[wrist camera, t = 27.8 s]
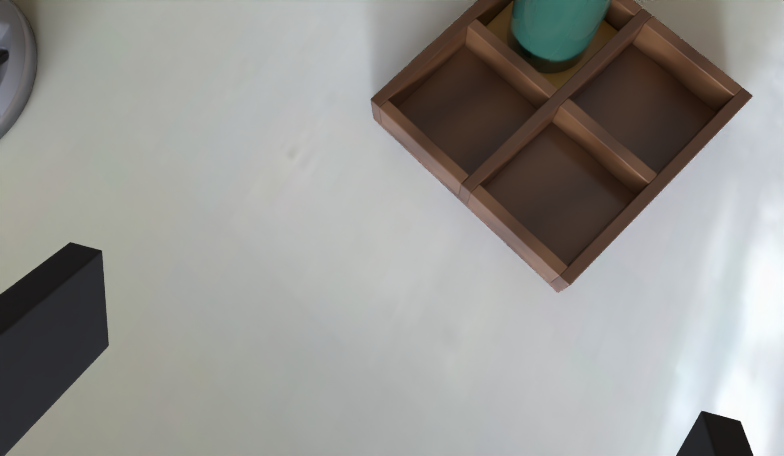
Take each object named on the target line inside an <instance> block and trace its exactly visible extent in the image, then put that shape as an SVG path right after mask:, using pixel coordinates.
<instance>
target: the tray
mask: <svg viewBox="0 0 784 456" xmlns="http://www.w3.org/2000/svg"><path fill="white" fill-rule="evenodd" d="M513 2H514V0H478V1H477V2H476V3H475V4H474V5H472V6H471V7H470V8H469V9H468V10H467V11H466V12H465V13H464V14H463V15H462V16H460V17H459V18H458V19H457V20H456V21H455V22H454V23H453V24H452V25H451V26H450V27H449V28H447V29H446V30H445V31H444V32H443V33H442V34H441V35H440V36H439V37H438V38H437V39H435V40H434V41H433V42H432V43H431V44H430V45H429V46H428V47H427V48H426V49H425V50H423V51H422V52H421V53H420V54H419V55H418V56H417V57H416V58H415V59H414V60H413V61H412V62H410V63H409V64H408V65H407V66H406V67H405V68H404V69H403V70H402V71H401V72H400V73H398V74H397V75H396V76H395V77H394V78H393V79H392V80H391V81H390V82H389V83H388V84H387V85H385V86H384V87H383V88H382V89H381V90H380V91H379V92H378V93H377V94H376V95H375V96H373V97H372V98H371V105H372V111H373V116H374V119H375V120H376V121H377V122H378V123H379V124H380V125H381V126H382V127H383V128H384V129H385V130H386V131H387V132H388V133H389V134H390V135H391V136H393V137H394V138H395V139H396V140H397V141H398V142H399V143H400V144H401V145H402V146H403V147H404V148H405V149H406V150H407V151H408V152H409V153H411V154H412V155H413V156H414V157H415V158H416V159H417V160H418V161H419V162H420V163H421V164H422V165H423V166H424V167H425V168H426V169H428V170H429V171H430V172H431V173H432V174H433V175H434V176H435V177H436V178H437V179H438V180H439V181H440V182H441V183H442V184H443V185H444V186H446V187H447V188H448V189H449V190H450V191H451V192H452V193H453V194H454V195H455V196H456V197H457V198H458V199H459V200H460V201H461V202H463V203H464V204H465V205H466V206H467V207H468V208H469V209H470V210H471V211H472V212H473V213H474V214H475V215H476V216H477V217H478V218H479V219H481V220H482V221H483V222H484V223H485V224H486V225H487V226H488V227H489V228H490V229H491V230H492V231H493V232H494V233H495V234H496V235H497V236H499V237H500V238H501V239H502V240H503V241H504V242H505V243H506V244H507V245H508V246H509V247H510V248H511V249H512V250H513V251H514V252H516V253H517V254H518V255H519V256H520V257H521V258H522V259H523V260H524V261H525V262H526V263H527V264H528V265H529V266H530V267H531V268H532V269H534V270H535V271H536V272H537V273H538V274H539V275H540V276H541V277H542V278H543V279H544V280H545V281H546V282H547V283H548V284H549V285H551V286H552V287H553V288H554V289H555V290H556V291H557V292H558V293H559V292H560V291H562V290H563V289H565V288H567V287H568V286H570V285H571V284H572V283H573V282H574V281H575V280H576V279H577V278H578V277H579V276H580V274H581V273H582V272H583V271H584V270H585V269H586V268H587V267H588V266H589V265H590V264H591V263H592V262H593V261H594V260H595V259H596V258H597V257H598V256H599V255H600V254H601V253H602V252H603V251H604V250H605V249H606V248H607V247H608V246H609V244H610V243H611V242H612V241H613V240H614V239H615V238H616V237H617V236H618V235H619V234H620V233H621V232H622V231H623V230H624V229H625V228H626V227H627V226H628V225H629V224H630V223H631V222H632V221H633V220H634V219H635V218H636V217H637V216H638V215H639V213H640V212H641V211H642V210H643V209H644V208H645V207H646V206H647V205H648V204H649V203H650V202H651V201H652V200H653V199H654V198H655V197H656V196H657V195H658V194H659V193H660V192H661V191H662V190H663V189H664V188H665V187H666V186H667V185H668V184H669V182H670V181H671V180H672V179H673V178H674V177H675V176H676V175H677V174H678V173H679V172H680V171H681V170H682V169H683V168H684V167H685V166H686V165H687V164H688V163H689V162H690V161H691V160H692V159H693V158H694V157H695V156H696V155H697V154H698V152H699V151H700V150H701V149H702V148H703V147H704V146H705V145H706V144H707V143H708V142H709V141H710V140H711V139H712V138H713V137H714V136H715V135H716V134H717V133H718V132H719V131H720V130H721V129H722V128H723V127H724V126H725V125H726V124H727V123H728V121H729V120H730V119H731V118H732V117H733V116H734V115H735V114H736V113H737V112H738V111H739V110H740V109H741V108H742V107H743V106H744V105H745V104H746V103H747V102H748V101H749V100H750V99H751V98H752V95H751V94H750V93H749V92H747V91H746V90H745V89H744V88H742V87H741V86H740V85H739V84H738V83H736V82H735V81H734V80H733V79H731V78H730V77H729V76H728V75H726V74H725V73H724V72H722V71H721V70H720V69H719V68H717V67H716V66H715V65H714V64H712V63H711V62H710V61H709V60H707V59H706V58H705V57H704V56H702V55H701V54H700V53H699V52H697V51H696V50H695V49H694V48H692V47H691V46H690V45H689V44H687V43H686V42H685V41H684V40H682V39H681V38H680V37H679V36H677V35H676V34H675V33H674V32H672V31H671V30H670V29H669V28H667V27H666V26H665V25H664V24H662V23H661V22H660V21H659V20H657V19H656V18H655V17H654V16H652V17H651V14H649V13H648V12H647V11H646V10H644V9H642V7H641V6H640V5H639V4H637V3H636V2H635V1H634V0H613V2H612V4H611V6H610V8H609V10H608V12H607V14H606V16H605V17H604V19H603V21H602V23H601V25H600V27H599V29H598V31H597V33H596V35H595V37H594V39H593V41H592V43H591V45H590V47H589V49H588V51H587V53H586V55H585V56H584V58H583V59H582V60H581V61H580V62H579V63H578V64H577V65H575V66H574V67H572V68H570V69H568V70H566V71H563V72H559V73H550V74H549V73H540V72H538V71H537V70H535V69H534V68H533V67H532V66H531V65H530V64H528V63H527V62H526V61H525V60H524V59H523V58H521V57H520V56H519V55H518V54H517V53H516V52H514V51H513V50H512V49H511V48H510V47H509V46H508V43H507V36H506V35H507V27H508V23H509V18H510V14H511V10H512V6H513Z"/></svg>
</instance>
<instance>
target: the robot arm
mask: <svg viewBox="0 0 784 456" xmlns="http://www.w3.org/2000/svg"><path fill="white" fill-rule="evenodd" d="M36 66H37V52H36V44H35V39H34V35H33V32H32V30H31V27H30V25H29V23H28V21H27V19H26V17H25V16H24V14H23V13H22V11H21V10H20V9H19V8H18V7H17V5H16V4H15V3H14V2H12V1H11V0H0V139H1V138H2V137H3V136H4V134H5V133H6V132H7V131H8V130H9V129H10V128H11V126H12V125H13V124H14V123H15V121H16V120H17V118H18V117H19V115H20V114H21V112H22V110H23V108H24V106H25V105H26V103H27V100H28V98H29V96H30V93H31V90H32V87H33V84H34V79H35V75H36ZM108 346H109V342H108V328H107V314H106V300H105V286H104V272H103V258H102V251H101V250H97V249H94V248H90V247H86V246H82V245H79V244H75V243H71V242H70V243H69V244H67V245H66V246H65V247H63V248H62V249H61V250H59V251H58V252H57V253H55V254H54V255H53V256H51V257H50V258H49V259H47V260H46V261H45V262H43V263H42V264H41V265H39V266H38V267H37V268H35V269H34V270H32V271H31V272H30V273H28V274H27V275H26V276H24V277H23V278H22V279H20V280H19V281H18V282H16V283H15V284H14V285H12V286H11V287H10V288H8V289H7V290H6V291H4V292H3V293H2V294H0V456H5V455H6V453H7V452H8V451H9V450H10V449H11V448H12V447H13V446H14V445H15V444H16V443H17V442H18V441H19V440H20V439H21V438H22V437H23V436H24V435H25V433H26V432H27V431H28V430H29V429H30V428H31V427H32V426H33V425H34V424H35V423H36V422H37V421H38V420H39V419H40V418H41V417H42V416H43V414H44V413H45V412H46V411H47V410H48V409H49V408H50V407H51V406H52V405H53V404H54V403H55V402H56V401H57V400H58V399H59V398H60V397H61V395H62V394H63V393H64V392H65V391H66V390H67V389H68V388H69V387H70V386H71V385H72V384H73V383H74V382H75V381H76V380H77V379H78V378H79V376H80V375H81V374H82V373H83V372H84V371H85V370H86V369H87V368H88V367H89V366H90V365H91V364H92V363H93V362H94V361H95V360H96V359H97V358H98V356H99V355H100V354H101V353H102V352H103V351H104V350H105V349H106V348H107V347H108ZM676 456H753V453H752V451H751V448H750V445H749V443H748V440H747V437H746V435H745V432H744V429H743V427H742V424H741V421H738V420H734V419H731V418H727V417H723V416H719V415H716V414H712V413H708V412H704V411H701V413H700V415H699V416H698V418H697V420H696V422H695V423H694V425H693V427H692V429H691V430H690V432H689V434H688V436H687V437H686V439H685V441H684V443H683V444H682V446H681V448H680V450H679V451H678V453H677V455H676Z"/></svg>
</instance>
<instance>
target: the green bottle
mask: <svg viewBox="0 0 784 456" xmlns="http://www.w3.org/2000/svg"><path fill="white" fill-rule="evenodd" d="M612 2H613V0H514V2H513V6H512V10H511V14H510V18H509V23H508V27H507V35H506V36H507V43H508V46H509V47H510V48H511V49H512V50H513V51H514V52H516V53H517V54H518V55H519V56H520V57H521V58H523V59H524V60H525V61H526V62H527V63H528V64H530V65H531V66H532V67H533V68H534V69H535V70H537V71H538V72H540V73H549V74H550V73H559V72H563V71H566V70H568V69H570V68H572V67H574V66H575V65H577V64H578V63H579V62H580V61H581V60H582V59H583V58H584V56H585V55H586V53H587V51H588V49H589V47H590V45H591V43H592V41H593V39H594V37H595V35H596V33H597V31H598V29H599V27H600V25H601V23H602V21H603V19H604V17H605V16H606V14H607V12H608V10H609V8H610V6H611V4H612Z"/></svg>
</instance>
